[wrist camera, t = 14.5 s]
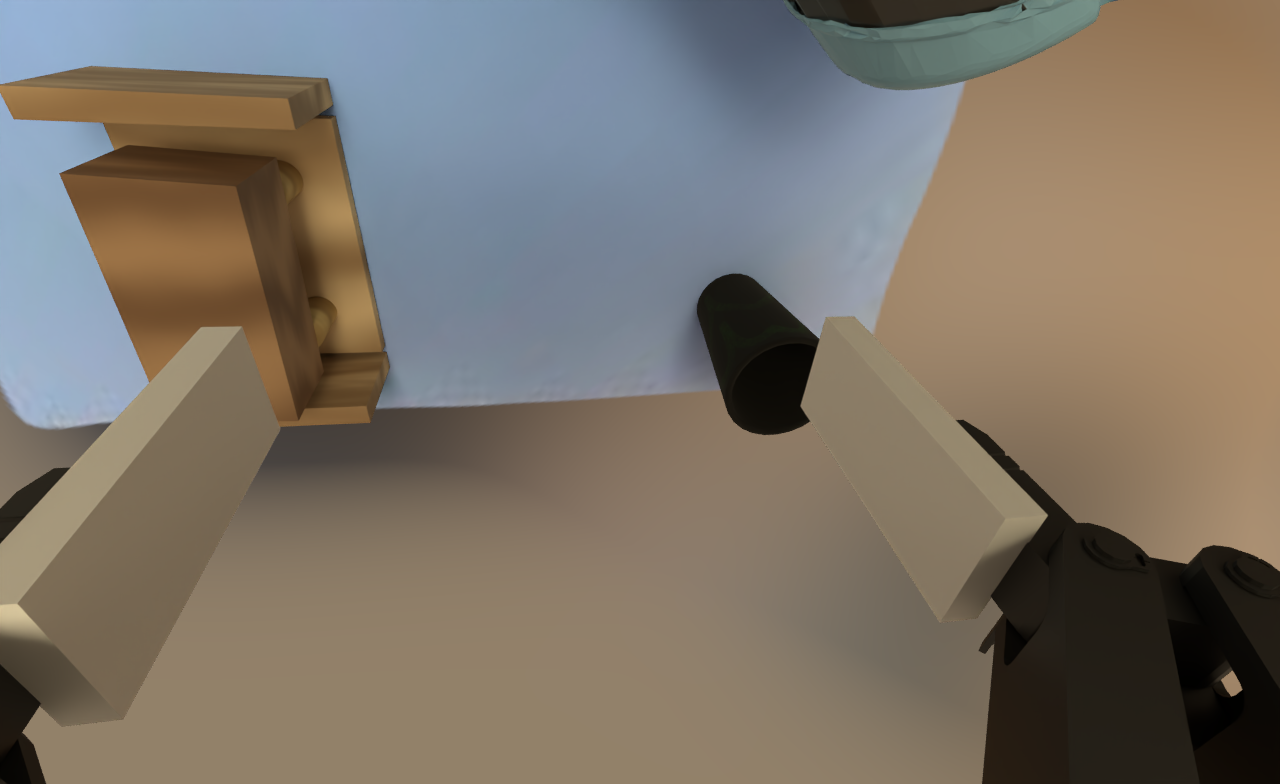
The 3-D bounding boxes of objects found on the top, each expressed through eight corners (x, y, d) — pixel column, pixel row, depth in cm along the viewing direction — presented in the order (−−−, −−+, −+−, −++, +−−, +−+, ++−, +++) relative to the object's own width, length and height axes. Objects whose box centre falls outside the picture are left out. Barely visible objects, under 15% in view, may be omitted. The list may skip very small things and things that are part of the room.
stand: (90, 66, 31) (-4, 85, 26) (327, 78, 33) (287, 98, 28) (219, 372, 43) (173, 431, 37) (389, 367, 45) (370, 422, 39)
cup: (689, 354, 49) (729, 446, 39) (678, 272, 44) (721, 354, 35) (776, 334, 49) (838, 421, 39) (775, 251, 45) (844, 326, 35)
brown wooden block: (323, 371, 39) (298, 421, 35) (208, 369, 38) (166, 421, 33) (276, 157, 31) (235, 186, 27) (127, 144, 30) (59, 173, 26)
